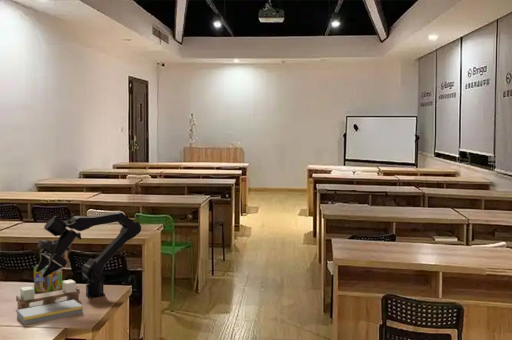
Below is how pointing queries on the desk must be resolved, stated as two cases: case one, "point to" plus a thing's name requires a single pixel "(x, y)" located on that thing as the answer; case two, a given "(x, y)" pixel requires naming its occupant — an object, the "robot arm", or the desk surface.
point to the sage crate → (27, 293)
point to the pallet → (48, 298)
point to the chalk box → (47, 280)
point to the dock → (49, 312)
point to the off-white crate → (69, 286)
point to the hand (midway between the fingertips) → (40, 274)
